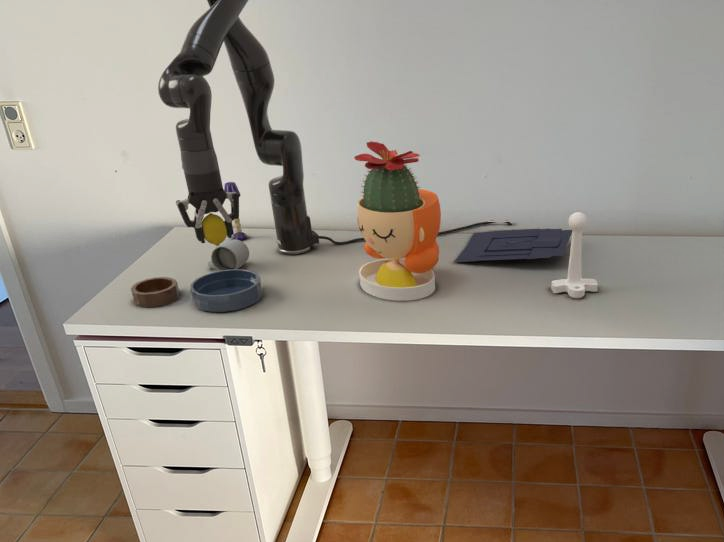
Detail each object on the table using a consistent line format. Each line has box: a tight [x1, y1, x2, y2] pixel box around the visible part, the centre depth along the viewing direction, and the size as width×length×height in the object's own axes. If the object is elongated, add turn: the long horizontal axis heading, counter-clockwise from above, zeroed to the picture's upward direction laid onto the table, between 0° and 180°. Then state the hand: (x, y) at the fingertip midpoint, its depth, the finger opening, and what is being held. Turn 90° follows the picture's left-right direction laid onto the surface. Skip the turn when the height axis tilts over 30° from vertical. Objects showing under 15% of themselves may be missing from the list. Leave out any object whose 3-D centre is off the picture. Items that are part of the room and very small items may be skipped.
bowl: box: [189, 268, 264, 313], centre depth 174 cm, size 16×16×4 cm
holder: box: [130, 276, 181, 308], centre depth 175 cm, size 10×10×4 cm
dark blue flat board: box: [453, 228, 572, 263], centre depth 200 cm, size 24×30×4 cm
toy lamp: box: [223, 181, 248, 241], centre depth 209 cm, size 5×5×17 cm
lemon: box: [201, 212, 227, 247], centre depth 167 cm, size 6×6×8 cm
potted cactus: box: [354, 140, 442, 302], centre depth 174 cm, size 22×22×35 cm
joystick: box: [550, 211, 599, 299], centre depth 171 cm, size 11×8×20 cm
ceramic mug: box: [207, 238, 250, 271], centre depth 191 cm, size 11×8×8 cm
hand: (216, 239), depth 168 cm, fingers closed on lemon, 5 cm apart
